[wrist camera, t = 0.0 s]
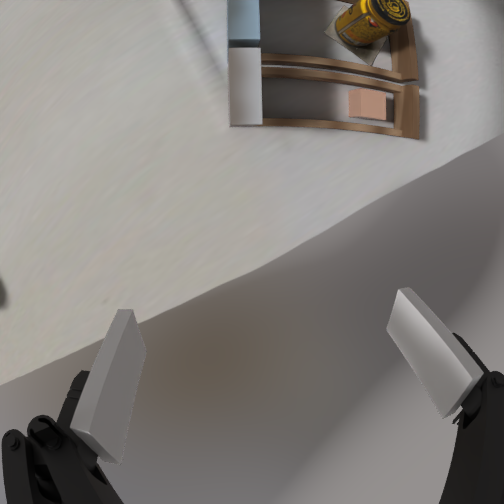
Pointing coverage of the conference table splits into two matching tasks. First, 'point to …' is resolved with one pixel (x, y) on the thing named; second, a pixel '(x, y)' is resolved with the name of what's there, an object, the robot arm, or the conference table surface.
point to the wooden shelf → (248, 36)
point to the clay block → (367, 104)
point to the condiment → (368, 26)
